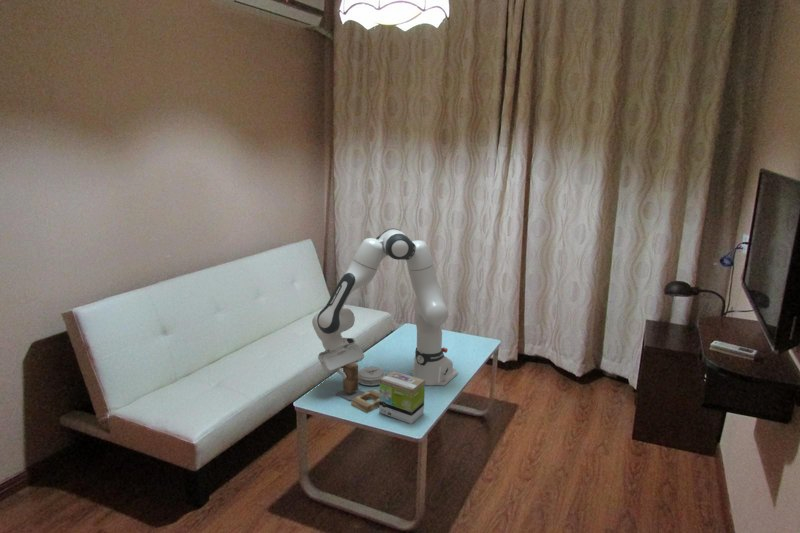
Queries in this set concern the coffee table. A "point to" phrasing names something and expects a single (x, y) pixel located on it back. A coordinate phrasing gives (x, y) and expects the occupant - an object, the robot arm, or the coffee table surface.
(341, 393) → the rubber pad
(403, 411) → the tea box
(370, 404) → the pocket board
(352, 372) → the walnut block
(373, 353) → the coffee table surface
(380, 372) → the grey round disc
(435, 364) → the robot arm
